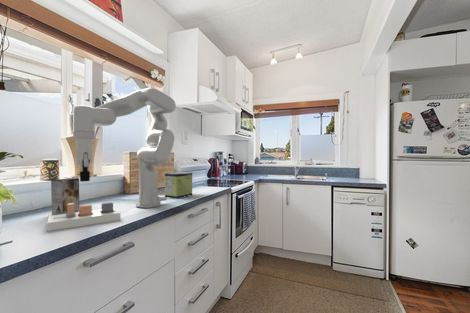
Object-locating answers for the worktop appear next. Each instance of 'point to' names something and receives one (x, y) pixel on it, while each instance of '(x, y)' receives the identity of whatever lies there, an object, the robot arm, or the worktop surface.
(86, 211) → the press button
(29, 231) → the worktop surface
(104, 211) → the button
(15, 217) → the worktop surface
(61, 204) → the coffee box
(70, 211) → the slider lever
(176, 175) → the protein box
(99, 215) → the console
